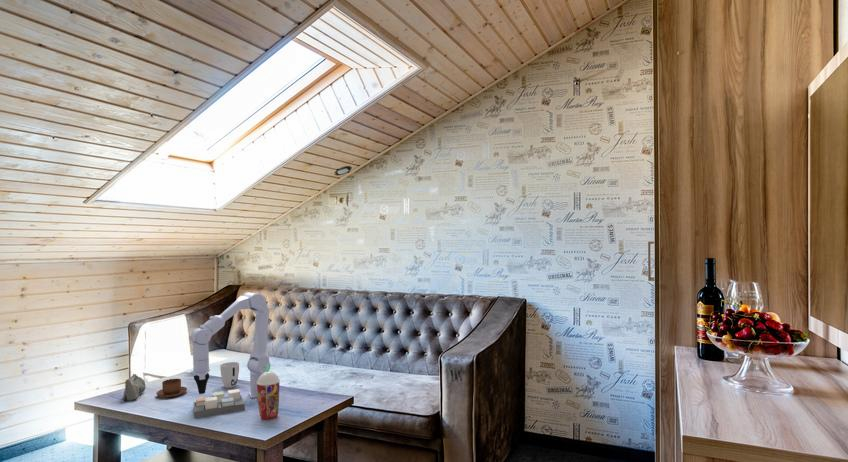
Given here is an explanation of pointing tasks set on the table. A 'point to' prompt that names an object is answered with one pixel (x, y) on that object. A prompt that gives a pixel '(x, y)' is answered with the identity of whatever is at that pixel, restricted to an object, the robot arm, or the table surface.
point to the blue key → (227, 402)
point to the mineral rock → (133, 387)
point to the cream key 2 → (234, 394)
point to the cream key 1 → (210, 403)
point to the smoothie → (268, 395)
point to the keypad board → (218, 408)
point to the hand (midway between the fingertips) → (202, 393)
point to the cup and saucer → (171, 388)
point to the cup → (229, 374)
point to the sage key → (218, 396)
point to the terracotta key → (200, 401)
